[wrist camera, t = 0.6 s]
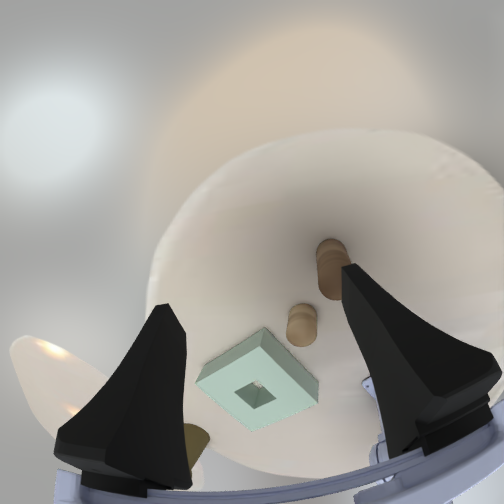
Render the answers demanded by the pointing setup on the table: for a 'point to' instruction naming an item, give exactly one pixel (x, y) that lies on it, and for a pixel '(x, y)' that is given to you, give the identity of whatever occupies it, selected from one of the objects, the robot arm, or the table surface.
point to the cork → (194, 443)
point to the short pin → (302, 325)
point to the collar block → (267, 374)
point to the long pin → (331, 267)
